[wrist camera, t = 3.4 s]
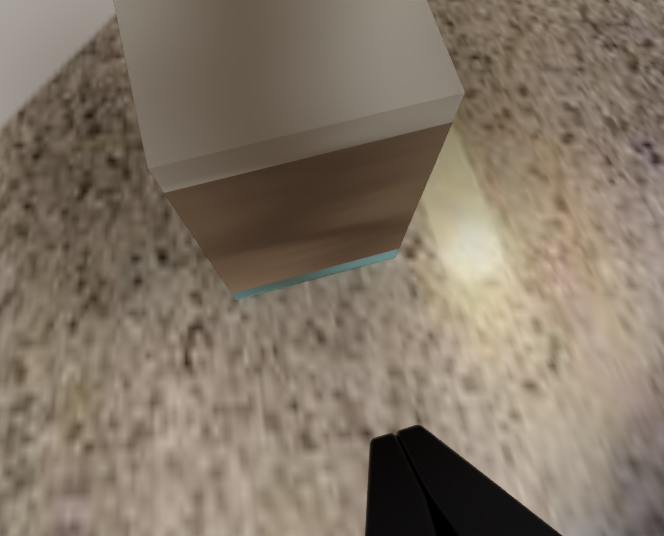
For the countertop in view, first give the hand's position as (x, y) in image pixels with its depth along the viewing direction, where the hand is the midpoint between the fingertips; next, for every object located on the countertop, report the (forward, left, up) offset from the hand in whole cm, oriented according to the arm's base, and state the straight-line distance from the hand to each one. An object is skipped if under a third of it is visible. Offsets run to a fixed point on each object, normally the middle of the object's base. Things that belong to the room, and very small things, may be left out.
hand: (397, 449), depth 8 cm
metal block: (0, -9, -10) cm, 13 cm away
